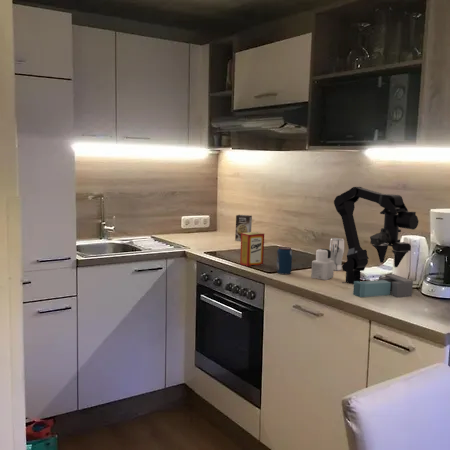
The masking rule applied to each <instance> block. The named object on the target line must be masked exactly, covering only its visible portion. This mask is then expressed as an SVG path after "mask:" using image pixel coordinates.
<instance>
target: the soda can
mask: <svg viewBox="0 0 450 450" xmlns="http://www.w3.org/2000/svg"><path fill="white" fill-rule="evenodd" d="M292 264H293V251H292V247H290V246H278V249H277V253H276V269H275V270H276V272H277V274H279V273H280V274H279V275H289V274H291V273H292V269H293V267H292V266H293V265H292Z"/></svg>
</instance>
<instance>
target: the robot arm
mask: <svg viewBox="0 0 450 450" xmlns="http://www.w3.org/2000/svg"><path fill="white" fill-rule="evenodd" d="M359 199H364V200H367V201H370V202H373V203H376V204H378V205H379V206H380V207H381V208H383V210H382V211H379V214H380V215H384V217H383V218H384V219H383V220H384V221H383V227H382V228H381V229H380V232H378V233H375V234H373V235H370V236H369V238H370V245H372V247H374V248H375V249H376V252H377V254H378V258H379V259H378V260H379V263H381V264H383V263H384V262H385V257H386V254H387V251H388V247H392V250H391V252H392V253H393V254H394V255H393V258H394V260H393V262H394V263H393V266H394V268H398V267H399V265H400V264H401V261H402V260H403V258H404V257H405V255H407V253H409V252H410V251H411V252H412V245H411V244H410V243H408V242H404V241H402V242H401V239H399V233H402V229H406V230H416V229H417V227H418V226H419V218H418V216H417V215H416V214H417V212H416V211H409V210H408V208H407V206H406V205H405V203H404V200H403V199H404V198H403V196H402V195H400V194H394V193H393V194H389V193H382V192H379V191H378V192H377V191H374V190H370V189H367V188H364V187H362V186H353V187H351V188H350V189H349V190H346V191H345V192H343V193H340V195H337V196H336V197H335V198H334V200H333V204H334V207H335V210H336V212H337V213H338V214H339V216H340V217H341V221H342V225H343V230H344V234H345V239H346V243H347V247H348V250H347V253H346V261H345V262H344V263H343V264H341V265H342V271H343V272H345V281H342V284H351V285H354V281H359V282H361V277H362V276H361V272H364V271H365V270H366V267H367V265H368V264H369V259H370V258H369V256H368V251H367V249H363V248H362V247H361V244H360V240H359V235H358V231H357V226H356V222H355V217H354V211H355V203H357V202H358V201H359ZM400 228H401V229H400Z"/></svg>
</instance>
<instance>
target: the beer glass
mask: <svg viewBox="0 0 450 450" xmlns="http://www.w3.org/2000/svg"><path fill="white" fill-rule="evenodd" d="M329 250H330V251H331V259H330V260H332V261H334V272H335V271H337V272H339V271H343V269H342V265H343V264H342V262H343V257H344V252H345V239H344V238H340V237H331V238H330V241H329Z"/></svg>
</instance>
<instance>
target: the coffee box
mask: <svg viewBox="0 0 450 450" xmlns="http://www.w3.org/2000/svg"><path fill="white" fill-rule="evenodd" d="M252 221H253V215H247V214H236V215H235V234H234V235H235V237H234V241H237V242H241V233H249V232H252Z"/></svg>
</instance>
